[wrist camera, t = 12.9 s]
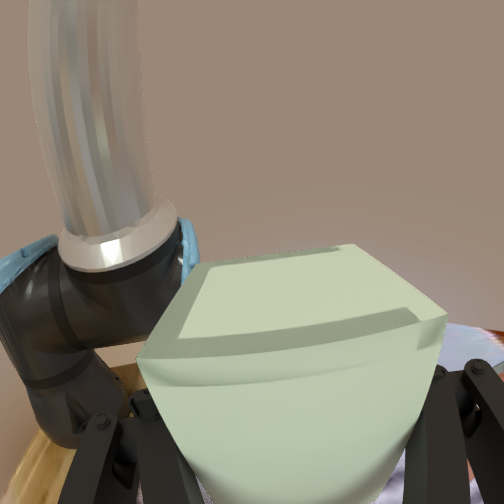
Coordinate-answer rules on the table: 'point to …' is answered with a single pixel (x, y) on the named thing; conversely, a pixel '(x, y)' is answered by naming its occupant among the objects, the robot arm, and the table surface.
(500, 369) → the board
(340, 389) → the pale green block
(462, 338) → the table surface
